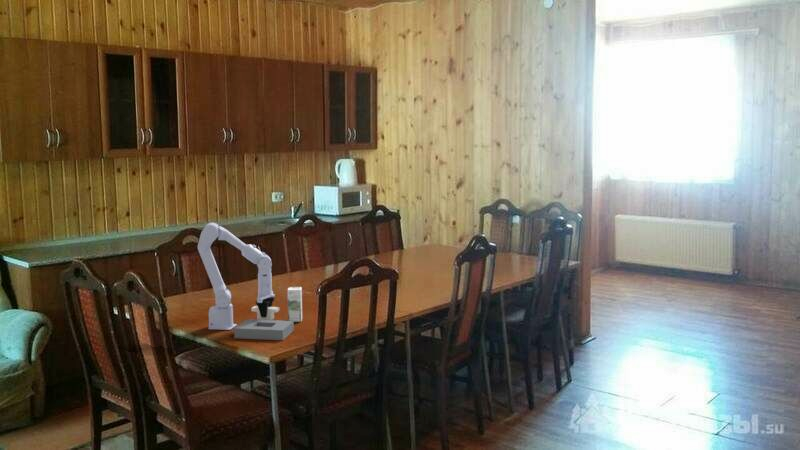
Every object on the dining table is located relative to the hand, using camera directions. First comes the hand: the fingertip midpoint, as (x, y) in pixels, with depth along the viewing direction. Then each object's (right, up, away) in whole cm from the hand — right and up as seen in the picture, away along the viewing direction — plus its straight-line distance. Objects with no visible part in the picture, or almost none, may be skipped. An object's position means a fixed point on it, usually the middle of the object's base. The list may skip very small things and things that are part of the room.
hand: (265, 315), depth 306 cm
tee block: (0, -2, 0) cm, 2 cm away
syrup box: (+11, -3, +8) cm, 14 cm away
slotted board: (+2, -6, -13) cm, 14 cm away
